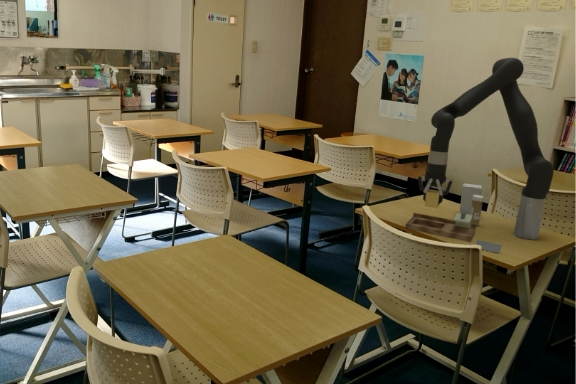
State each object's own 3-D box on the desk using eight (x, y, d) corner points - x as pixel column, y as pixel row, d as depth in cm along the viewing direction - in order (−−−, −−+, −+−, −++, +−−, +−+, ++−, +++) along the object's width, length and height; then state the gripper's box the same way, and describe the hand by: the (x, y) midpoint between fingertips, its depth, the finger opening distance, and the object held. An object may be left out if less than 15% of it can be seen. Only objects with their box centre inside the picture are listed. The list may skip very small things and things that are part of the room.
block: (439, 205, 215) (441, 191, 213) (437, 208, 211) (438, 193, 209) (427, 203, 217) (428, 189, 215) (424, 206, 213) (426, 192, 211)
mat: (501, 245, 204) (501, 244, 204) (499, 253, 195) (499, 252, 195) (474, 240, 208) (474, 239, 208) (471, 247, 199) (471, 246, 199)
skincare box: (477, 216, 241) (483, 185, 237) (476, 219, 235) (482, 188, 231) (459, 213, 244) (464, 182, 240) (457, 216, 238) (462, 185, 234)
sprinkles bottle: (477, 228, 223) (482, 198, 220) (466, 225, 226) (471, 196, 222) (479, 225, 227) (484, 195, 224) (468, 223, 229) (473, 193, 226)
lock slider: (470, 227, 215) (473, 209, 213) (467, 234, 206) (470, 215, 204) (455, 224, 218) (458, 206, 216) (451, 231, 208) (454, 212, 206)
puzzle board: (474, 233, 216) (476, 224, 214) (470, 243, 204) (472, 233, 203) (412, 221, 226) (413, 212, 225) (405, 229, 215) (406, 220, 214)
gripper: (457, 162, 209) (451, 203, 214) (421, 158, 215) (416, 197, 220) (454, 165, 203) (448, 207, 207) (417, 161, 209) (412, 201, 213)
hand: (432, 202), depth 213 cm, fingers closed on block, 5 cm apart
